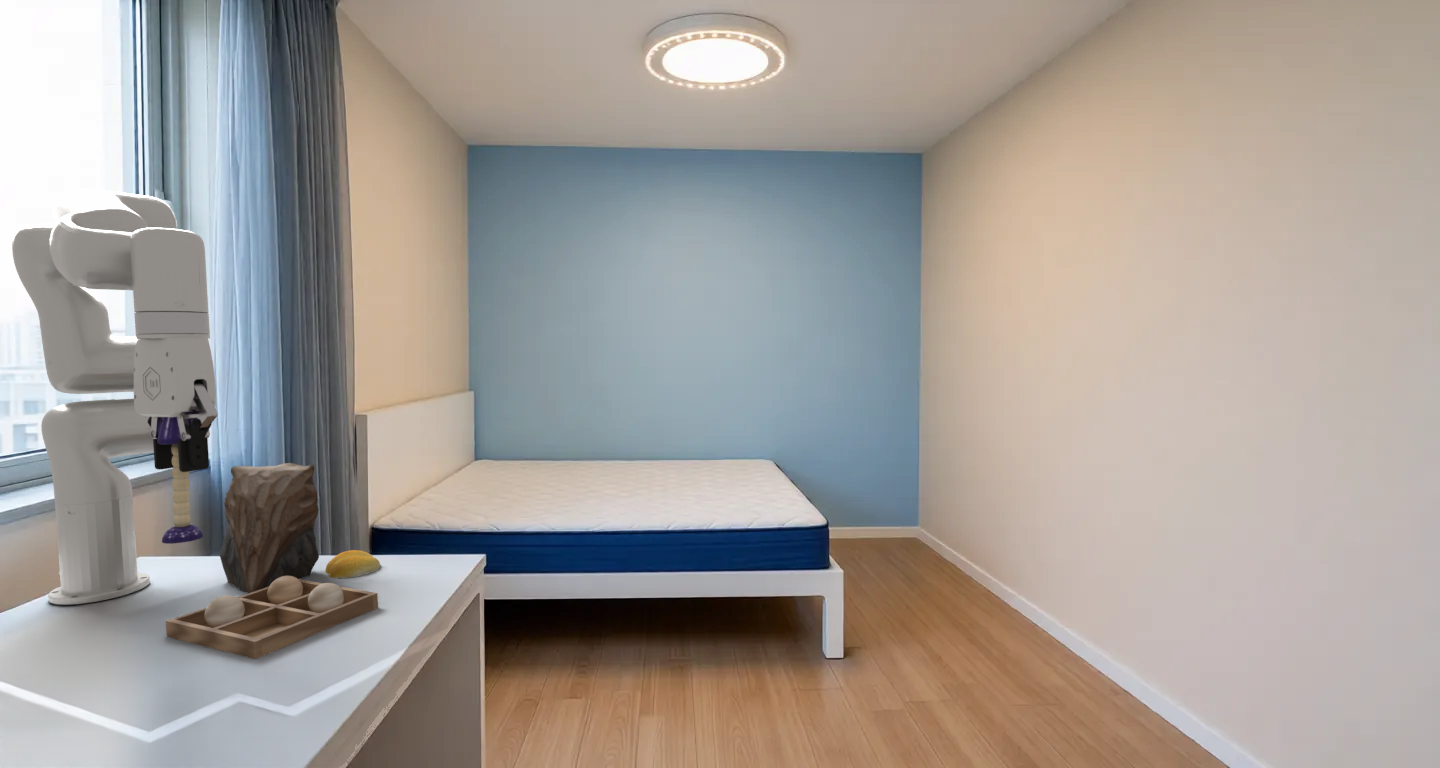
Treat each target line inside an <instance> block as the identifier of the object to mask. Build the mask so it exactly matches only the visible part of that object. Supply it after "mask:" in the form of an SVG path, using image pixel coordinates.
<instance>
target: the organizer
mask: <svg viewBox="0 0 1440 768" xmlns="http://www.w3.org/2000/svg"><path fill="white" fill-rule="evenodd" d="M299 580H300V582H301V583H302V586H303V593H302V596H301V597H298V598H295V599H293V600H290V601H287V602H284V603H282V604H279V605H275V604H271V603H270V601H269V600H268V597H267V591H268V588H269V587H266V588H263V589H260V590H257V591H254V592H251V593H246V594H245V593H244V594H243V595H239V596H237V597H238V598H239V599H240V600H241V601H242V602H243V604H244V607H245V612H244V615H243V617H242V618H240V619H237V620H234V621H231V622H229V623H226V624H223V625H220V626H218V627H215V628H212V627H210V626H209V625H208V624H207V623H206V621H205V617H204V616H205V610H206V608H207V606H206V607H203V608H201V609H197V610H195V611H191V612H188V613H185V614H182V615H180V616H176V617H173V618H170V619H168V620H165V632H166V633H165V634H166V637H167V638H170V639H173V640H177V641H181V642H185V643H189V644H193V645H197V646H202V647H205V648H209V649H214V650H218V651H220V652H225V653H230V654H233V655H237V656H241V657H245V658H249V659H253V660H257V659H260V658H262V657H264V656H267V655H270V654H272V653H273V652H276V651H279V650H281V649H284V648H285V647H288V646H291V645H293V644H295V643H298V642H300V641H302V640H306V639H307V638H309V637H312V636H314V635H315V636H316V635H317V634H319V633H321V632H323V631H326V630H328V629H332V628H333V627H334V628H335V627H337V626H338V625H341V624H343V623H345V622H347V621H350V620H352V619H355V618H357V617H360V616H362V615H364V614H366V613H369V612H371V611H373V610H376V609H378V608H379V597H378V596H379V595H378V592H373V591H368V590H362V589H357V588H351V587H346V586H345V587H344V586H339V585H338V586H339V587H340V588H341V589H342V591H343V594H344V600H343V603H342V605H340V606H338V607H335V608H333V609H330V610H328V611H325V612H323V613H315V612H312V611H311V610H310V608H309V606H308V597H309V595H310V593H311V591H312V590H313V589H314V588H315V587H317V586H318V585H320V584H323V583H322V582H318V581H317V582H316V581H312V580H310V581H309V580H304V579H299Z"/></svg>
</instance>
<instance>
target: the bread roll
mask: <svg viewBox="0 0 1440 768" xmlns="http://www.w3.org/2000/svg"><path fill="white" fill-rule="evenodd" d="M380 567H381V563H380V561H379V559H377V558H376V557H374V556H373V555H372V554H370V553H368V552H367V551H365V550H356V549H352V550H346V551H342V552H340V553H338V554H337V555H335V556H334V557H333V558H332V559H330V560H329V561H328V562H327V563H326V566H325V573H326V574H327V575H328V576H329V578H332V579H348V578H355V577H361V576H364V575H367V574H370V573H373V572H375V571H377V570H378V569H379V568H380Z"/></svg>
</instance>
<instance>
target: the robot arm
mask: <svg viewBox="0 0 1440 768" xmlns="http://www.w3.org/2000/svg"><path fill="white" fill-rule="evenodd" d="M52 217H53V219H54V221H55V223H40V224H39V223H37V224H30V225H26V226H23V227H21V228H19V229H17V230H16V232H15V234H14V235H13V238H12V242H11V243H12V244H11V250H12V258H13V259H12V260H13V262H14V266H15V270H16V272H17V275H18V277H19V279H20V282H21V283H22V285H23V287H24V289H25V290H26V292H27V294H28V296H29V298H30V299H31V301H32V303H33V305H34V307H35V309H36V311H37V315H38V320H39V329H40V336H41V343H42V350H43V351H42V352H43V357H44V364H45V369H46V370H45V371H46V374H47V378H48V380H49V383H50V385H51V387H52V388H53V389H55V390H56V391H57V392H60V393H63V394H71V395H72V394H73V395H74V394H75V395H80V394H81V395H83V394H84V395H86V394H87V395H88V394H89V395H90V394H91V395H92V394H109V393H112V394H113V393H128V392H129V393H131V392H133V398H122V399H113V398H112V399H98V400H97V399H96V400H80V401H72V402H67V403H63V404H60V405H57V406H54V407H53V408H51V409H49V410H48V411H47V412H46V413H45V414H44V416H43V417H42V419H41V426H40V427H41V434H42V439H43V443H44V445H45V450H46V454H47V457H48V461H49V465H50V471H51V476H52V484H53V485H52V486H53V496H54V509H55V521H56V523H55V524H56V536H57V550H58V563H59V565H58V566H59V570H58V575H60V577H59V578H60V579H59V580H60V586H59V587H56V588H54V589H52V590H51V591H50V592H49V593H48V594H47V598H48V602H49V603H51V604H54V605H64V606H67V605H82V604H90V603H96V602H101V601H106V600H111V599H115V598H119V597H122V596H127V595H129V594H131V593H136V592H138V591H139V590H142V589H144V588H145V587H147V586H149V584H151V581H150V580H151V578H150V575H149V574H147V573H143V572H138V561H137V560H138V559H137V557H138V556H137V544H136V532H135V531H136V530H135V515H134V512H135V511H134V499H133V487H132V482H131V480H130V478H129V477H128V476H127V474H125V473H124V472H123V471H122V470H121V469H119V468H118V467H116V466H115V465H114V464H112V462H111V461H110V459H112V458H118V457H119V458H120V457H123V456H124V457H125V456H134V455H142V454H144V455H145V454H150V453H151V454H152V453H153V456H154V457H153V458H154V459H153V460H154V468H155V469H156V470H159V471H160V470H166V469H167V470H169V469H173V468H174V466H173V465H172V457H173V454H172V451H171V447H172V444H170V445H168V444H158V442H157V440H158V436H159V432H160V429H161V425H162V422H163V418H164V417H177V420H178V425H179V430H180V434H181V438H182V440H180V441H178V455H179V470H180V471H181V472H189V473H190V472H194V471H200V470H201V471H202V470H206V469H208V468H209V467H210V456H209V442H208V441H209V438H210V436H211V434H210V433H211V432H210V428H211V427H212V423H213V422H214V420H216V418H217V417H218V411H217V409H216V408H217V388H216V387H217V385H216V376H215V375H216V374H215V368H214V367H215V366H214V361H213V356H212V350H211V346H210V342H209V339H211V331H210V329H211V328H210V314H209V300H208V299H209V296H208V280H207V278H208V277H207V264H206V249H205V248H206V247H205V242H204V240H203V238H202V236H200V235H199V234H197V233H196V232H193V231H191V230H184V229H179V228H178V223H177V222H178V221H177V218H176V215H175V213H174V211H173V209H172V208H171V206H169V204H167V203H166V202H165V201H164V200H162V199H160V198H158V197H154V196H152V195H151V196H150V195H141V194H136V193H127V192H119V191H112V190H103V189H95V188H78V189H73V190H69V191H66V192H64V193H63V194H61V195H59V197H58V198H57V199H56V201H55V202H54V204H53V207H52ZM91 289H92V290H108V291H109V290H113V291H114V290H115V291H116V290H117V291H132V295H133V307H134V308H133V310H134V315H133V316H134V324H135V325H134V327H135V329H134V330H135V335H134V336H132V335H131V336H130V335H128V336H127V335H125V336H124V335H122V336H121V335H119V336H117V335H114V334H113V333H112V331H111V329H110V327H111V326H110V320H109V312H108V310H107V307H106V306H105V304H104V303H103V302H102V301H101V300H100V299H99V297H97V296H96V295H95V294H94V293H92V291H90V290H91ZM191 411H192V412H194V414H187V415H185V412H191ZM188 420H193V421H192V423H191V424H190V426H189V424H188Z"/></svg>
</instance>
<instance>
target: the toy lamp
mask: <svg viewBox="0 0 1440 768" xmlns="http://www.w3.org/2000/svg"><path fill="white" fill-rule="evenodd" d="M187 414H194V412H192V411H191V412H185V415H187ZM192 421H193V420H188V424H189V426H190V424H191V423H192ZM180 440H182V438H181V434H180V430H179V425H178V420H177V417H164V418H163V422H162V425H161V429H160V432H159V436H158V440H157V442H158V444H168V445H170V444H172V447H171V451H172V454H173V457H172V465H173V466H174V468H172V471H171V476H172V477H173V479H172V483H171V485H172V486H171V487H172V489H173V493H172V500H173V508H172V510H173V514H174V516H173V519H172V521H173V525H174V526H172V527H170V528H169V529H167V530H166V531H165V532H164V534H163V535H162V537H161V538H162V540H161V543H162V544H167V545H168V544H170V545H172V544H183V543H187V542H193V541H197V540H200V539H202V538H203V537H204V534H203V531H202V530H201V528H200V527H198V526H197V525H195V524H191V521H192V518H191V515H190V511H191V504H190V502H189V501H190V498H191V493H190V485H191V483H190V482H191V481H190V479H189V476H190V471H189V472H181V471H180V470H179V455H178V441H180Z"/></svg>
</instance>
